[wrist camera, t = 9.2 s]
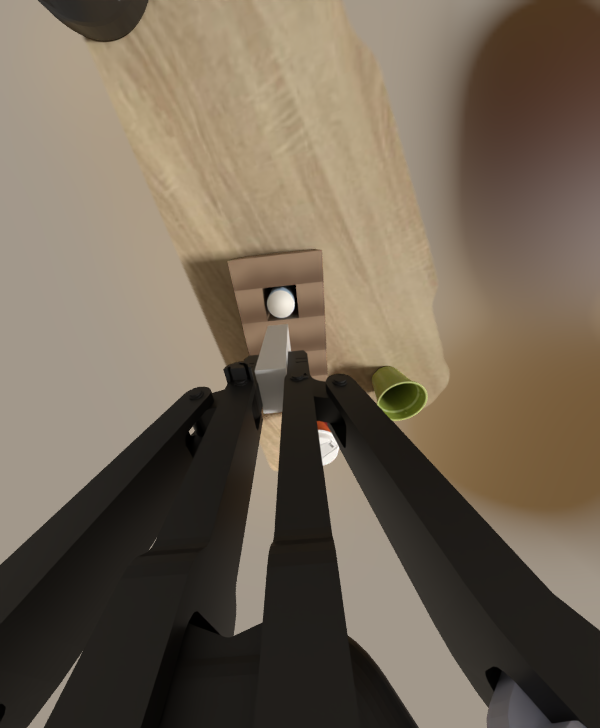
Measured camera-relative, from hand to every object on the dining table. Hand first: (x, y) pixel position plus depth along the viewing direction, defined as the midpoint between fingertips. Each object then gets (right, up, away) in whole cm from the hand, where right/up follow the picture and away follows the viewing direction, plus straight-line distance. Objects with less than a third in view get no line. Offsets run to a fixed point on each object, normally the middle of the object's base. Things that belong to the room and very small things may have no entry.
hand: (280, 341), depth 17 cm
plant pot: (+21, -5, +32) cm, 38 cm away
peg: (-1, +11, +22) cm, 25 cm away
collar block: (-1, +7, +25) cm, 26 cm away
